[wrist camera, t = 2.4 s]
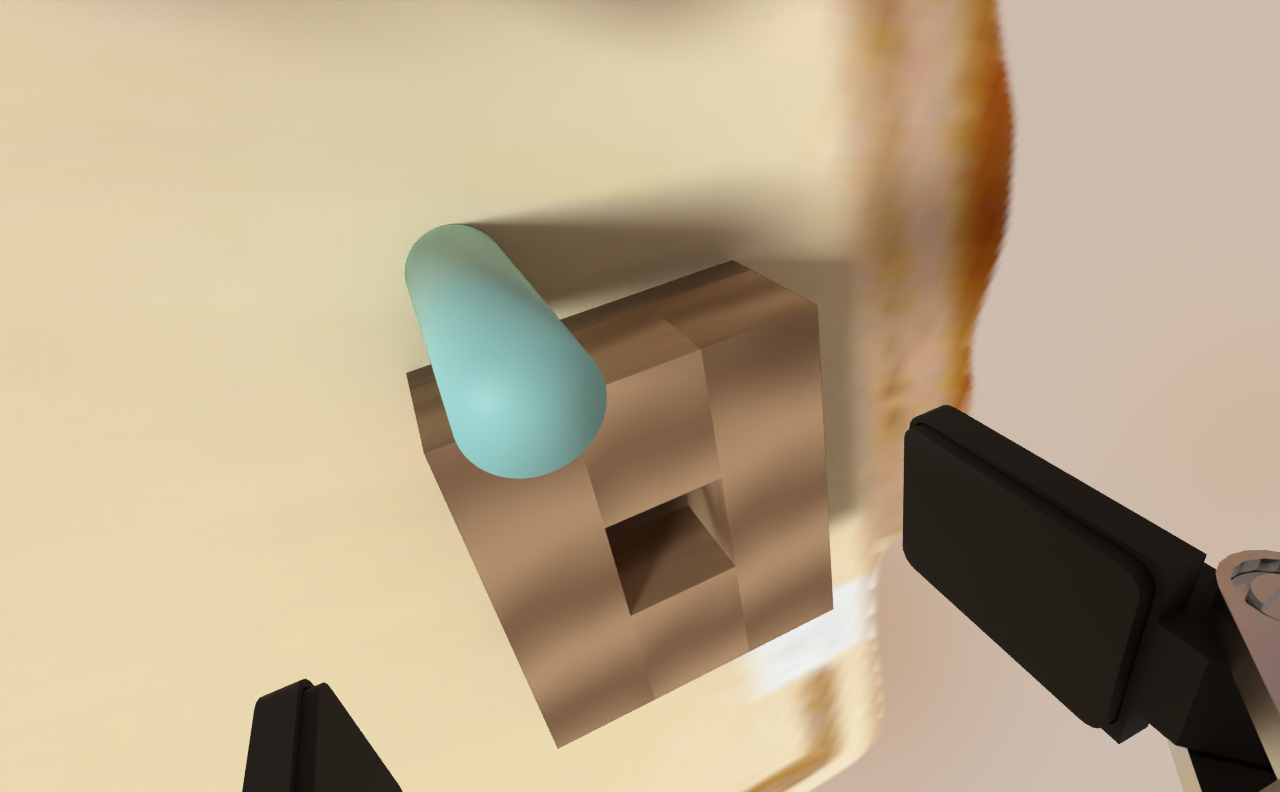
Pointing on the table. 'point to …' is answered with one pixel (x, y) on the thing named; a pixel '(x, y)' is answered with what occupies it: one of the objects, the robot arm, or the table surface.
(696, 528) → the block
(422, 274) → the pin
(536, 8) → the table surface
